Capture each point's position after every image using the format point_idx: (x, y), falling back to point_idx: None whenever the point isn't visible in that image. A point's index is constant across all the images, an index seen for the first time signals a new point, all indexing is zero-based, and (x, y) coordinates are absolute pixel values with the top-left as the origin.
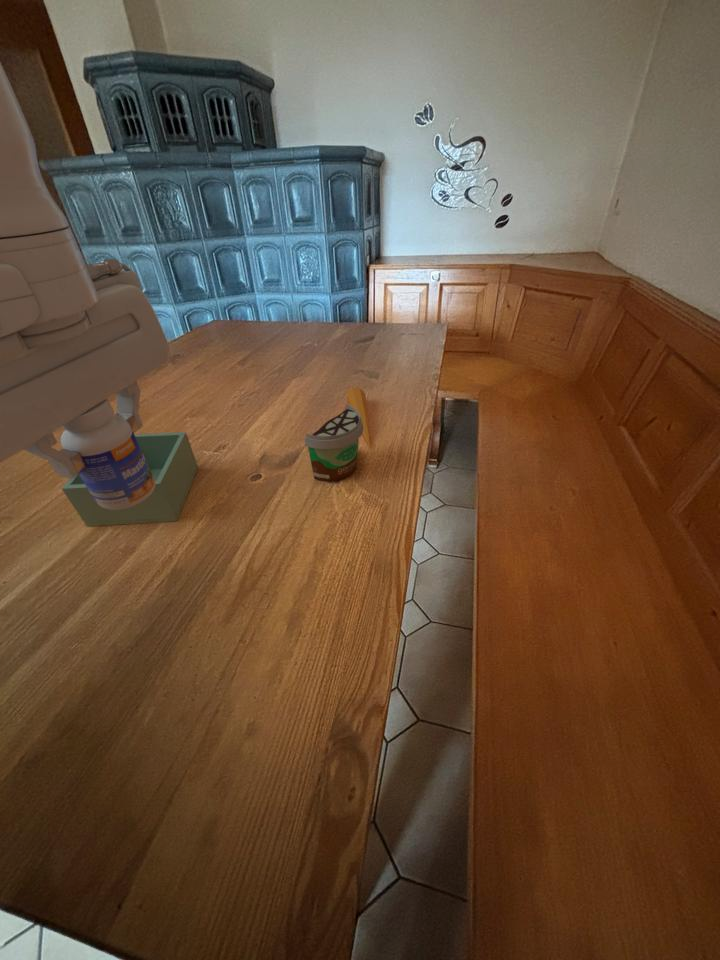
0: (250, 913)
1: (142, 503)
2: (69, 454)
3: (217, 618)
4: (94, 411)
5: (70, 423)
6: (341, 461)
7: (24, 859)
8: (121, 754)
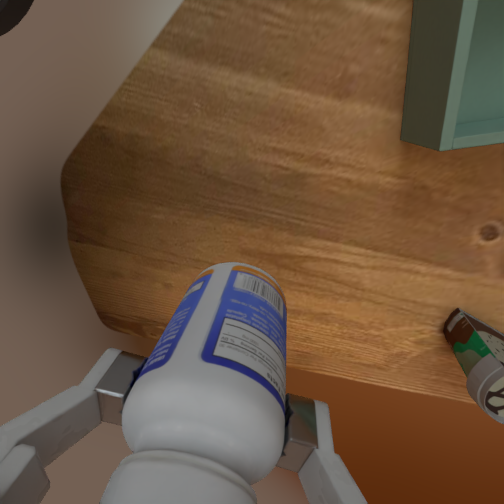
0: (99, 298)
1: (424, 93)
2: (109, 415)
3: (244, 243)
4: None
5: None
6: (459, 362)
7: (66, 175)
8: (130, 208)
